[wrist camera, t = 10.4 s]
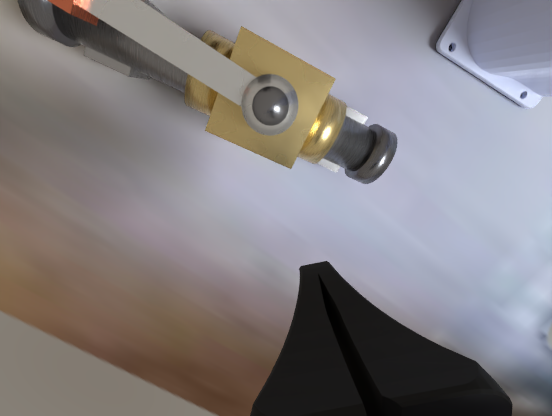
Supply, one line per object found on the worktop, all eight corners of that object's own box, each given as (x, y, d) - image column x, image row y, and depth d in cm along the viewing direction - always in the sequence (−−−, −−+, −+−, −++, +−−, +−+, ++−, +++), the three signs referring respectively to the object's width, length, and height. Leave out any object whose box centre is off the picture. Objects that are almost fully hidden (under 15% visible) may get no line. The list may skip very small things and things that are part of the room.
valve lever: (304, 95, 13) (311, 95, 11) (277, 141, 14) (280, 148, 12) (-10, -119, 9) (-73, -170, 7) (-21, -40, 10) (-81, -70, 8)
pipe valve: (377, 119, 19) (424, 128, 14) (343, 177, 21) (374, 206, 16) (92, -34, 15) (-6, -112, 9) (78, 55, 17) (-11, 34, 11)
